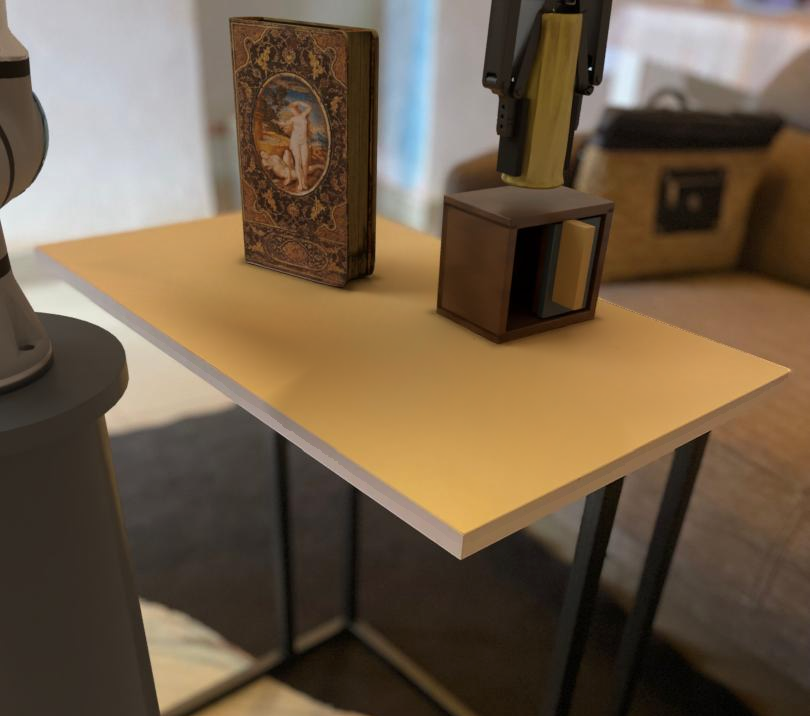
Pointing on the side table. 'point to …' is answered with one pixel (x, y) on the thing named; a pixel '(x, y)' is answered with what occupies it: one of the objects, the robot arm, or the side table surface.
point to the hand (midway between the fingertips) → (533, 170)
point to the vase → (549, 103)
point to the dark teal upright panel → (568, 265)
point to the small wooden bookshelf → (510, 257)
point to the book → (307, 145)
